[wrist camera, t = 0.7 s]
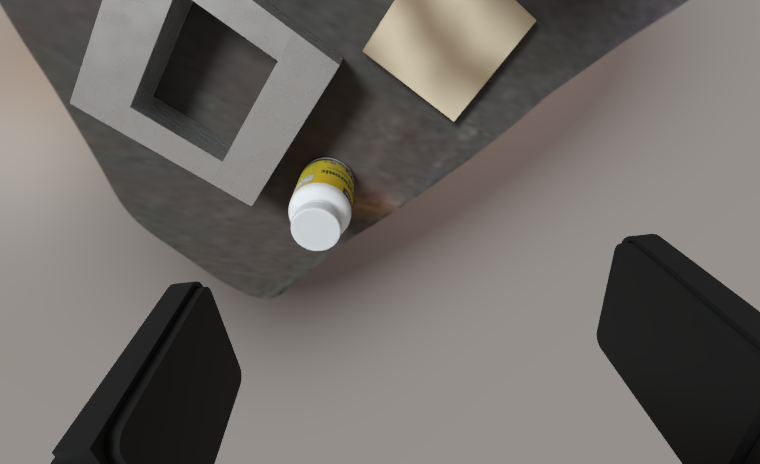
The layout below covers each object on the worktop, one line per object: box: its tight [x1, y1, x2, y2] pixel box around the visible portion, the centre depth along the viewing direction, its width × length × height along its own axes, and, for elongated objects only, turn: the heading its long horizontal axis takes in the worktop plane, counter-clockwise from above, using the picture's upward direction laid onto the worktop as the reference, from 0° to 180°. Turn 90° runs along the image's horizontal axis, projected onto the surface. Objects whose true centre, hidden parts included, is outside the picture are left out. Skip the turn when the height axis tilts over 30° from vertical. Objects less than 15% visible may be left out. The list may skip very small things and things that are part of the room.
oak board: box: [363, 0, 537, 122], centre depth 33 cm, size 10×10×1 cm
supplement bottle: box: [288, 157, 354, 251], centre depth 36 cm, size 5×5×10 cm
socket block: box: [70, 0, 343, 206], centre depth 33 cm, size 15×16×4 cm
